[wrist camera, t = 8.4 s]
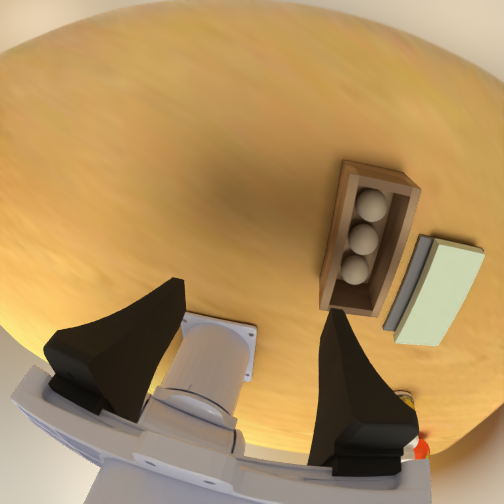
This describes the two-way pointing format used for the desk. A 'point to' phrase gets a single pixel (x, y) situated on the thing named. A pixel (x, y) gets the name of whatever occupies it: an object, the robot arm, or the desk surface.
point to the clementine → (421, 450)
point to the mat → (410, 281)
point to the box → (366, 238)
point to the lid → (439, 293)
